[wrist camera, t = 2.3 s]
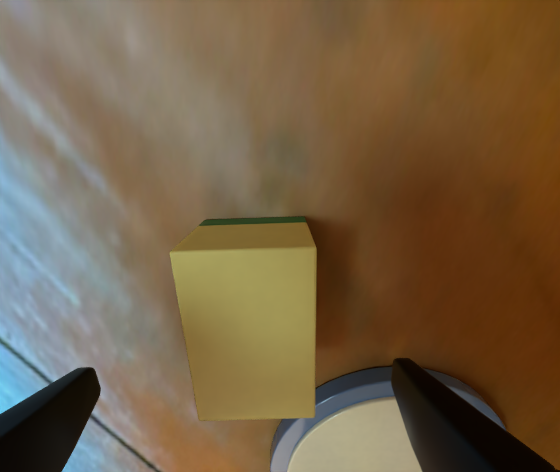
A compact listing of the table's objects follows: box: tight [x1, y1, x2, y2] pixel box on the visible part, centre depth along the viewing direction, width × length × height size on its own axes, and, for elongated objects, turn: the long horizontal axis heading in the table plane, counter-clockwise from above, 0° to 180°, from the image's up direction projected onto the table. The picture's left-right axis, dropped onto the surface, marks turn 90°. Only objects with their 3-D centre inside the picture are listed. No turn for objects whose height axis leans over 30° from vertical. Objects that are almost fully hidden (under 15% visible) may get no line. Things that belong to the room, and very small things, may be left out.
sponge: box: [170, 216, 317, 421], centre depth 11 cm, size 7×4×4 cm, turn 2°
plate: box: [270, 366, 506, 472], centre depth 16 cm, size 14×14×1 cm
